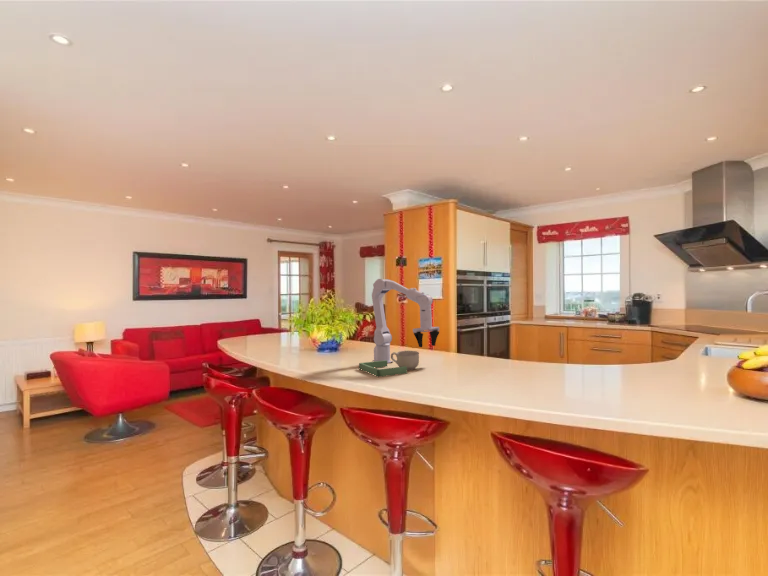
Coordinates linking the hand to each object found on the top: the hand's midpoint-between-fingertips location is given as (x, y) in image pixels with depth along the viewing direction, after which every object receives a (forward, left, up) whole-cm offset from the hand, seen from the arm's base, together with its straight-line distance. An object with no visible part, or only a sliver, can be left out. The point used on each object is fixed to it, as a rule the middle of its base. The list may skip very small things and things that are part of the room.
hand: (427, 346), depth 191 cm
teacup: (0, -13, -10) cm, 16 cm away
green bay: (0, -25, -10) cm, 27 cm away
